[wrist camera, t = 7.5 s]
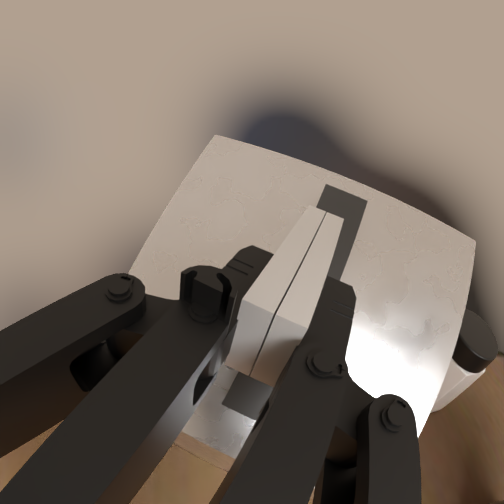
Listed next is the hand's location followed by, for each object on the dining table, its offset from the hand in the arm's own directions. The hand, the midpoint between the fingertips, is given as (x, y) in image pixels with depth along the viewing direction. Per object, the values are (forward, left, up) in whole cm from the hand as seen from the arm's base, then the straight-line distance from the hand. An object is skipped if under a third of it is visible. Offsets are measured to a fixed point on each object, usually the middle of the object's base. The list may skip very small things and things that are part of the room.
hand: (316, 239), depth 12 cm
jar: (-22, -13, -21) cm, 33 cm away
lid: (-1, -1, -5) cm, 5 cm away
